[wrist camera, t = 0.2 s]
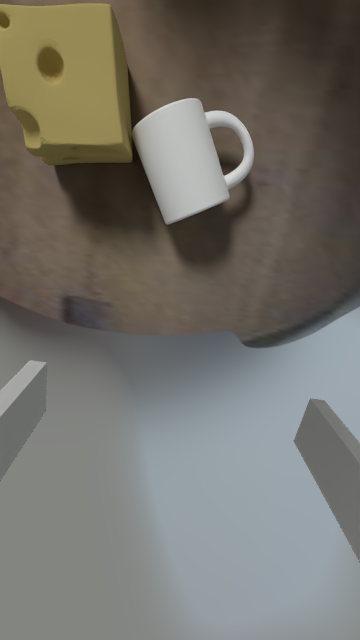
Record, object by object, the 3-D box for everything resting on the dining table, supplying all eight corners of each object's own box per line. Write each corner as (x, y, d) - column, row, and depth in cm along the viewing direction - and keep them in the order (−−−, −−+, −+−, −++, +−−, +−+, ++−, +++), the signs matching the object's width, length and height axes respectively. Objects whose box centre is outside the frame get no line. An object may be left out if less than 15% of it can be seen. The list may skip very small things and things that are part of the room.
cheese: (53, 167, 35) (9, 149, 26) (36, 57, 31) (-21, -11, 22) (138, 166, 35) (126, 148, 26) (132, 57, 32) (115, -10, 22)
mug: (166, 224, 38) (165, 226, 30) (135, 143, 34) (125, 122, 27) (253, 188, 37) (274, 181, 29) (229, 101, 33) (246, 67, 26)
